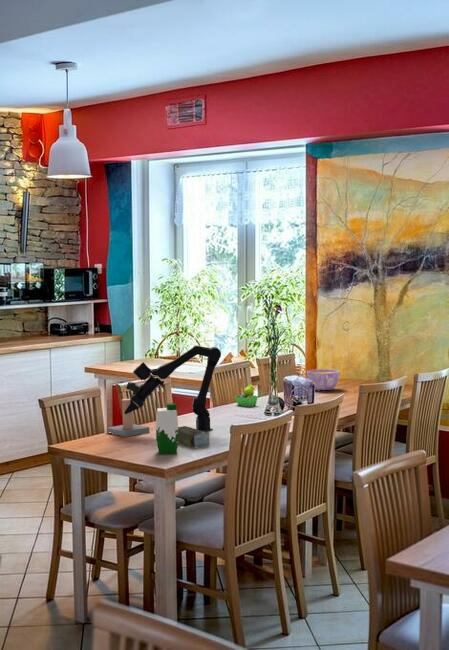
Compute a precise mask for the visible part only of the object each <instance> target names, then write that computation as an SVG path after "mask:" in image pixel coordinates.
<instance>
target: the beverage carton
mask: <svg viewBox="0 0 449 650" xmlns="http://www.w3.org/2000/svg"><path fill="white" fill-rule="evenodd" d="M209 435H210V434H209V432H208V431H205V432H204V431H201V430H197V428H193V427H190V426H188V425H187V426H186V425H183V426H178V445H179V444H180V445H183V446H185V447H190V448H194V449H199V448H205V447H209V446H210V436H209Z"/></svg>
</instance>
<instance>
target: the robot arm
mask: <svg viewBox="0 0 449 650" xmlns="http://www.w3.org/2000/svg"><path fill="white" fill-rule="evenodd" d="M197 355H199V356H202V357H207V359H206V366H205V367H206V368H205V371H204V375H203V377H202V381H201V384H200V388H199V391H198V394H197V396H193V398H192V399H193V401H192V403H191V408H192V412H193V413H194V414H195V415H197V416H196V418H195V419H196V420H195V429H197V430H201V431H204V432H208V431H213V430H214V428H211V417H210V411H209V409H207V408H206V404H207V395H208V392H209V388H210V386H211V382H212V378H213V375H214V371H215V368H216V367H217V364H218V363H219V361H220V360H221V359H220V358H221V356H222V352H221V350H220V349H219V348H218V347H217V346H212V347H208V346H207V347H205V346H200V345H194V346H193V347H192V348H189V349H188V350H187V351H186V352H184V353H182V354H181V355H180V356H178V357H176V358H175V359H173V360H171V361H170V362H167V363H164V364H162V365H160V366H158V368H152V369H151V368H150V367H149V366H147V364H146V363H145V361H144V362H143V361H142V362H141V363H140V364H139V365H137V366H136V368H135V369H134V370H133V371H132V373H133V374H134V375H135V376H136V377H137V378H138V379H139V380H141V381H142V380H143V381H145V382H143V383H142V384H141V385H139V384H136V382H133V381H128V383H127V384H126V387H125V389H126V390H129V391H132V393H131V396H130V398H129V399H130V405H129V406H128V408H127V409H126V411H125V412H124V413H125V414H128V413H130V412H132V411H133V412H134V411H136V410H140V409H142V407H143V406H144V403H145V401H146V400H147V399H148V398H149V397H150V396H151V395H153V392H154V391H155V390H156V389H157V388H158V387H159V386H161V388H164V387H165V385H164V384H165V380H166V379H167V378H168V377H170V376H171V375H172V373H174V372H175V371H176V369H178V368H180V367H181V366H182V365H184V364H186V362H188V361H190V360H191V359H193V358H195V357H196V356H197Z"/></svg>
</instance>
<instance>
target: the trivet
mask: <svg viewBox="0 0 449 650" xmlns="http://www.w3.org/2000/svg"><path fill="white" fill-rule="evenodd" d="M150 431H151V430H150V426H145V425H140V424H135V423H133V428H123V424H120V425H116V426H110V427H106V434H109V432H111V433H113V434H112V435H114V434H116V435H115V436H118V435H119V436H120V437H123V436H124V437H123V438H127V437H133V436H138V435H144V434H147V433H148V434H149V433H150Z"/></svg>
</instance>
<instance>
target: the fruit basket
mask: <svg viewBox="0 0 449 650" xmlns="http://www.w3.org/2000/svg"><path fill="white" fill-rule="evenodd" d="M254 389H255V386H254V385H253V384H248V385H247V386H246V387H245V388H244V389H243V392H244V393H241V394H240V395H235V396H234V398H235V400H236V403H237V406H239V405H241V406H242V407H246V406H252V407H254V406H253V405H257V401H258V398H259V396H256V395H254V394H255V390H254ZM241 406H240V407H241Z"/></svg>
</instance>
